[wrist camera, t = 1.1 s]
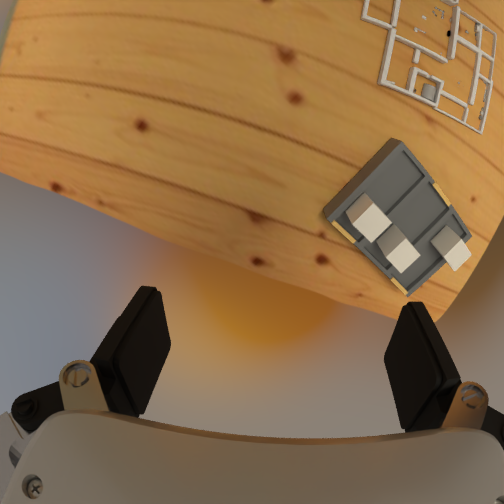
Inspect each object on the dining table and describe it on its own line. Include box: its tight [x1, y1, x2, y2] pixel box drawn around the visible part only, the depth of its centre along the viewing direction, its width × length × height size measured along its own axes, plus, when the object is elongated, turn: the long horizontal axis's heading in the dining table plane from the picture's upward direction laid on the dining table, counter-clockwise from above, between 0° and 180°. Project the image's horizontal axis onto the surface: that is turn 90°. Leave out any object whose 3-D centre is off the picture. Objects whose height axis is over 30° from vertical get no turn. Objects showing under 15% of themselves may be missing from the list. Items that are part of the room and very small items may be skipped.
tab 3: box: [430, 225, 472, 272], centre depth 30 cm, size 3×3×4 cm
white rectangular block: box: [345, 191, 392, 243], centre depth 30 cm, size 3×3×4 cm
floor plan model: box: [361, 0, 497, 134], centre depth 23 cm, size 19×25×2 cm
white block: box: [376, 224, 420, 273], centre depth 31 cm, size 3×3×4 cm
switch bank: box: [323, 138, 472, 297], centre depth 33 cm, size 12×16×4 cm
